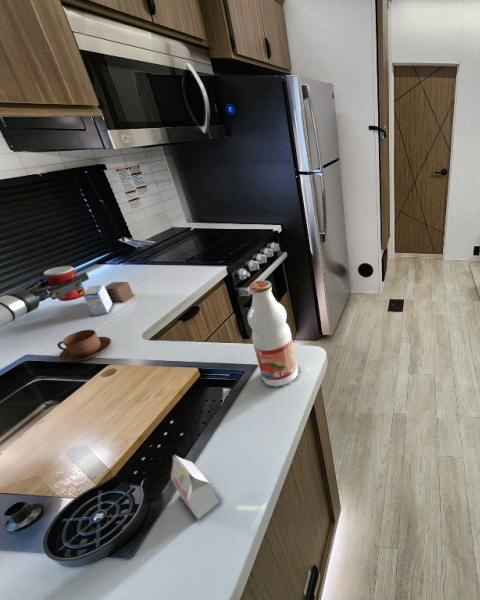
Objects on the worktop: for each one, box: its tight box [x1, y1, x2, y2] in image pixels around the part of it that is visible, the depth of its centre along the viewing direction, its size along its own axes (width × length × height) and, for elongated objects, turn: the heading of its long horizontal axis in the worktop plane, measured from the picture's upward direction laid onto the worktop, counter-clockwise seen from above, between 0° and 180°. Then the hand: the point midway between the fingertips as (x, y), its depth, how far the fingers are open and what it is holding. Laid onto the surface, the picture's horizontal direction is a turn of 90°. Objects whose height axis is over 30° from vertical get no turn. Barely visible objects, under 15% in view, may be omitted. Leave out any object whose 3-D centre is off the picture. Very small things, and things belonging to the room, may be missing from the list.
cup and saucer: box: [57, 329, 112, 363], centre depth 99 cm, size 12×12×6 cm
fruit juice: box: [246, 279, 299, 387], centre depth 84 cm, size 9×9×28 cm
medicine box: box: [82, 284, 113, 316], centre depth 122 cm, size 8×4×9 cm, turn 27°
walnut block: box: [104, 281, 134, 303], centre depth 131 cm, size 6×6×6 cm
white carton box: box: [169, 454, 220, 520], centre depth 59 cm, size 4×7×10 cm, turn 53°
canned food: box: [43, 265, 86, 302], centre depth 122 cm, size 8×8×11 cm
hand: (75, 275), depth 126 cm, fingers closed on canned food, 8 cm apart
